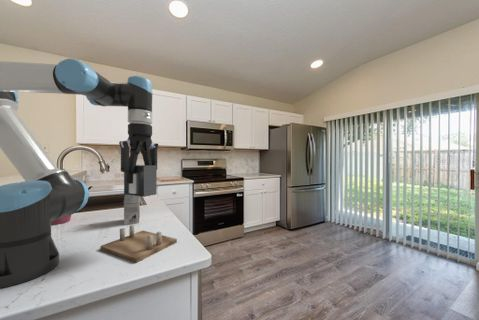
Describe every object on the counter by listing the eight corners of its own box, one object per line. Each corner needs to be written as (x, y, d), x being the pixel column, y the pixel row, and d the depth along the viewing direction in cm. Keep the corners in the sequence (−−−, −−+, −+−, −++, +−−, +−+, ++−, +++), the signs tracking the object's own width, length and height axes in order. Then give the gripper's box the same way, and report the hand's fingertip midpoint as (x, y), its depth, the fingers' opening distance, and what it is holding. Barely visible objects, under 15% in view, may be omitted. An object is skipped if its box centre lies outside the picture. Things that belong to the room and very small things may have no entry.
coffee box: (125, 219, 99) (125, 186, 99) (139, 217, 102) (139, 185, 102) (123, 225, 91) (123, 189, 91) (139, 223, 93) (139, 188, 93)
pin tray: (136, 262, 59) (136, 244, 59) (100, 249, 67) (100, 233, 67) (176, 242, 73) (176, 227, 73) (142, 233, 81) (142, 220, 81)
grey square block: (143, 196, 65) (143, 165, 65) (124, 194, 70) (124, 165, 69) (156, 194, 70) (156, 165, 69) (137, 191, 74) (137, 164, 74)
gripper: (121, 118, 60) (121, 197, 60) (168, 127, 76) (168, 189, 76) (106, 120, 63) (106, 195, 63) (154, 128, 79) (154, 187, 79)
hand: (140, 191), depth 70 cm, fingers closed on grey square block, 5 cm apart
